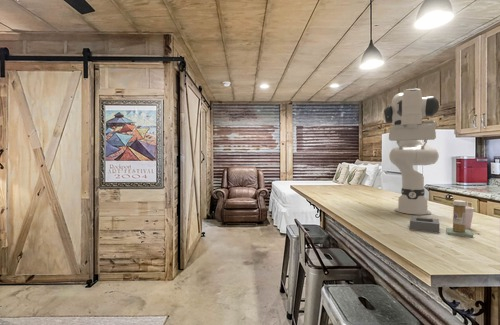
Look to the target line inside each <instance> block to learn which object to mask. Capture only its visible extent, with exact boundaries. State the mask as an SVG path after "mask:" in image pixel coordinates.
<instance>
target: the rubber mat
mask: <svg viewBox="0 0 500 325" xmlns="http://www.w3.org/2000/svg"><path fill="white" fill-rule="evenodd" d="M445 231H446V235H448V236H456V237H457V236H458V237H465V238H474V234H473V232H472V230H471V229H465V232H456V231H453V227H445Z"/></svg>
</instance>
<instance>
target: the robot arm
mask: <svg viewBox="0 0 500 325" xmlns="http://www.w3.org/2000/svg"><path fill="white" fill-rule="evenodd" d="M439 108H440V103H439V99H437V98H436V97H435V96H433V95H432V96H426V97H425V96H424V97H423V93H422V89H421V88H408V89H407V88H406V89H404V90H403V92H399V93H396V94H394V96H393V97H392V99H391V105H390V104H389V105H387V107H385V109H384V110H383V113H382V118H383V121H384V122H385V123H387V124H391V125H392V126H391V127H390V128H389V131H388V132H389V133H388V140H389V141H390V142H394V141H395V142H396V144H397V146H398V147H393V148H392V149H391V150H390V152H389V155H388V157H389V161H390V162H391V163H392V164H393V165H394V166H396V167H397V169H398V170H399V172H400V175H401V182H402V183H401V184H402V185H401V186H402V187H401V191H400V192H401V195H400V196H399V197H398V199H397V200H398V201H397V202H398V204H397V207H396V208H394V211H395V212H399V213H402V214H403V213H404V214H408V215H432V212H431V210H429V209H428V207H429V206H428V199H427V198H426V197H425V193H426V191H425V188H424V187H425V186H424V185H425V177H424V175H423V174H422V173H421V172H419V171H417V170H415V169H414V166H432V165H434V164H436V163H437V162H438V160H439V155H440V154H439V152H438V150H437V149H436V148H435V147H432V146H430V145H428V144H427V143H428V141H432V140H433V141H435V139H436V138H437V133H436V132H437V131H436V129H437V128H438V124H437V122H436V121H434V120H432V119H431V120H423V117H433V116H435V114H437V113H438V112H439Z"/></svg>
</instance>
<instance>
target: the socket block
mask: <svg viewBox="0 0 500 325" xmlns="http://www.w3.org/2000/svg"><path fill="white" fill-rule="evenodd" d="M440 229H441V228H440V220H439V218H433V217H422V216H414V215H413V216H410V219H409V230H411V231H418V232H426V233H427V232H428V233H437V234H440Z"/></svg>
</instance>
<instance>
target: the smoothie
mask: <svg viewBox="0 0 500 325" xmlns="http://www.w3.org/2000/svg"><path fill="white" fill-rule="evenodd" d="M474 211H475V207H472V206H469V198H467V197H466V207H465V230H471V227H472V221H473V216H474Z"/></svg>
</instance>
